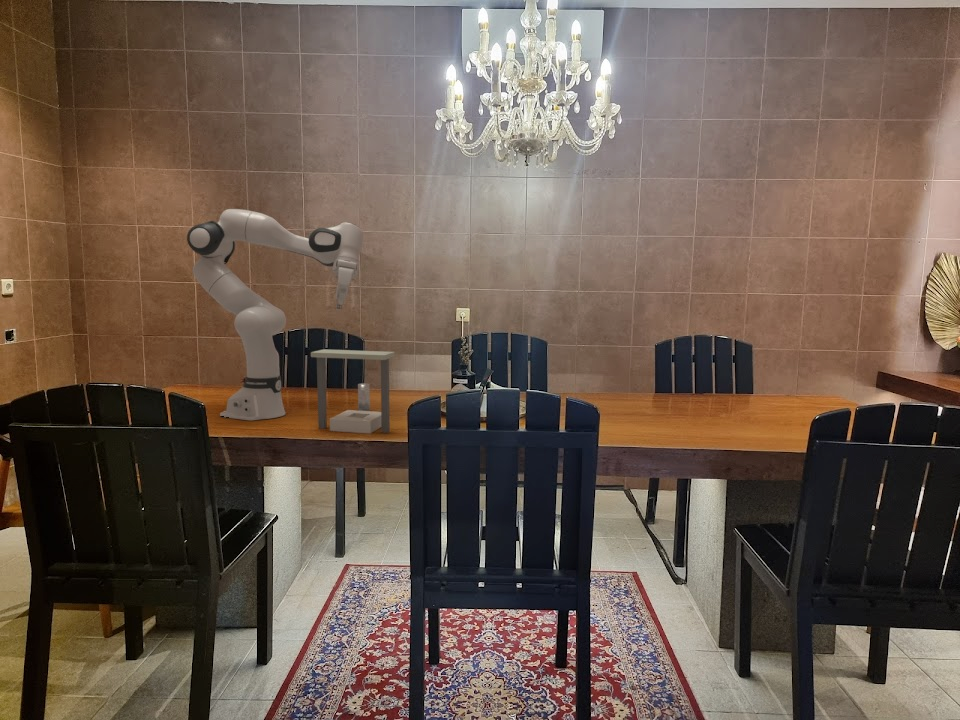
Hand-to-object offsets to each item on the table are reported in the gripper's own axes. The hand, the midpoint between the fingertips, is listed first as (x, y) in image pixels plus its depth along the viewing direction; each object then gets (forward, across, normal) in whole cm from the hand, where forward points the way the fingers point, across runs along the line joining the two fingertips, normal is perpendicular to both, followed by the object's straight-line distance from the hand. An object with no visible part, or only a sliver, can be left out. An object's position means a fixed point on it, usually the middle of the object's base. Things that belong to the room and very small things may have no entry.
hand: (339, 307), depth 222 cm
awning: (+41, +8, +10) cm, 43 cm away
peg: (+36, -8, +15) cm, 40 cm away
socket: (+40, +5, +12) cm, 42 cm away
